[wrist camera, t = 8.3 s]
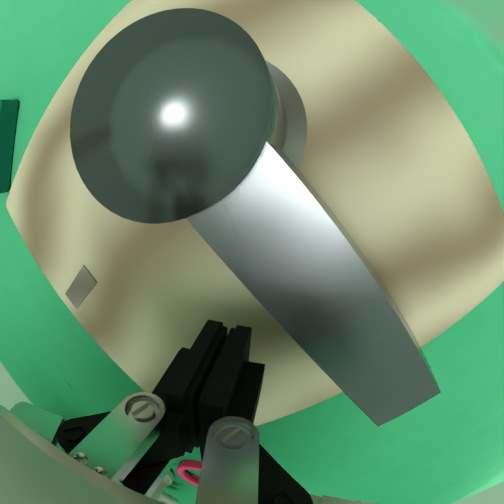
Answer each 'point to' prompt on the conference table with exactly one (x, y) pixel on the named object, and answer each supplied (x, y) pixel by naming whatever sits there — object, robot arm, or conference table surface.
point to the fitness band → (189, 465)
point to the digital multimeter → (7, 140)
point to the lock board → (317, 174)
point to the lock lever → (240, 194)
